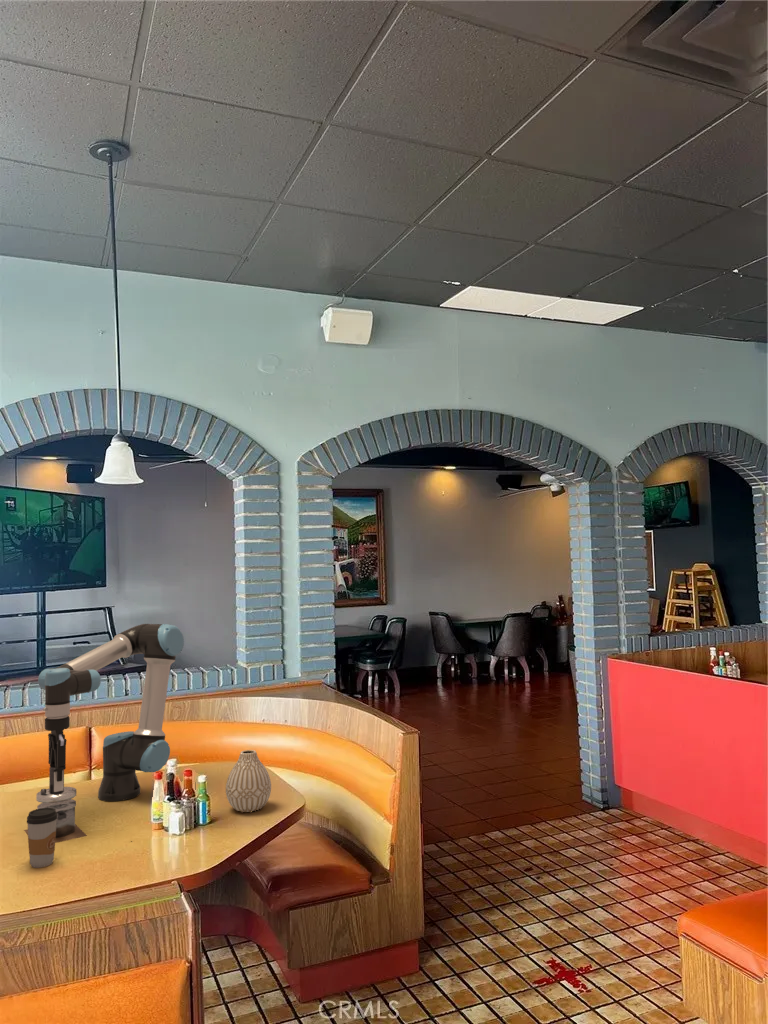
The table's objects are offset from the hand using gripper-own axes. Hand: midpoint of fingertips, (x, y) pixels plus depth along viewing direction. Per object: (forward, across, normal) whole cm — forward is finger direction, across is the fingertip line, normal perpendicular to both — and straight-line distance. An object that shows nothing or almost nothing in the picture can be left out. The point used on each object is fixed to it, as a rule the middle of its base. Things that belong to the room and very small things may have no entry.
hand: (56, 789), depth 252 cm
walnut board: (+15, 0, 0) cm, 15 cm away
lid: (+3, 0, 0) cm, 3 cm away
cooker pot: (+14, 0, 0) cm, 14 cm away
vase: (+15, +16, +61) cm, 64 cm away
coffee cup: (+15, +22, -9) cm, 29 cm away
